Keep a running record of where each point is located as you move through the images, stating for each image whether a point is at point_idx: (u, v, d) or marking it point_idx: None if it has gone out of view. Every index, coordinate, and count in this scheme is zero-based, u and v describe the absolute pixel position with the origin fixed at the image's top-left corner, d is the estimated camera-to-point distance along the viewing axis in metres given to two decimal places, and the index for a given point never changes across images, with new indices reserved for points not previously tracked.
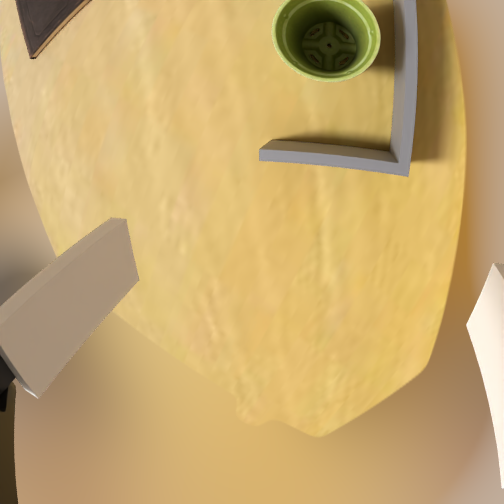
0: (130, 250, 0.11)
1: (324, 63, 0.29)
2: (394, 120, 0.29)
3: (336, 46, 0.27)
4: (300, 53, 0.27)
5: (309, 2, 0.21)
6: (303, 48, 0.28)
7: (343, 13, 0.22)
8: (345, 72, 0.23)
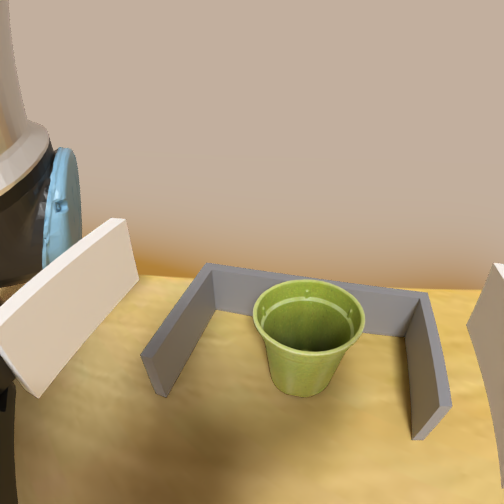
0: (130, 250, 0.11)
1: None
2: (377, 325, 0.33)
3: None
4: (313, 385, 0.26)
5: None
6: (300, 394, 0.27)
7: (274, 329, 0.29)
8: (348, 320, 0.27)
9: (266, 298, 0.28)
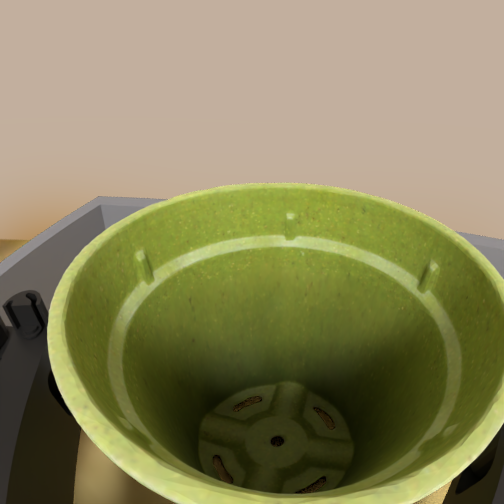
0: None
1: (331, 461, 0.09)
2: None
3: (281, 424, 0.11)
4: None
5: (121, 343, 0.06)
6: None
7: (197, 330, 0.10)
8: (425, 298, 0.07)
9: (154, 226, 0.08)
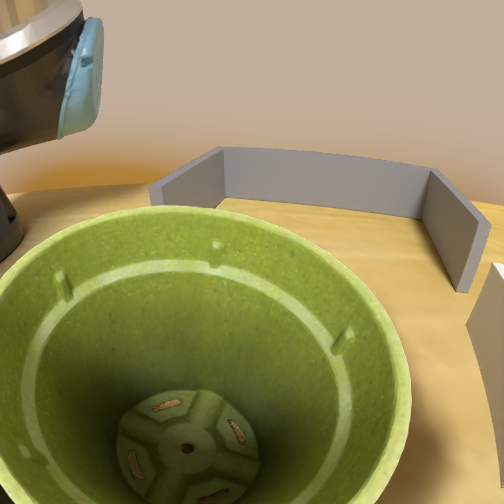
0: None
1: (235, 476, 0.10)
2: (392, 203, 0.32)
3: (194, 432, 0.11)
4: None
5: (36, 362, 0.06)
6: None
7: (118, 340, 0.10)
8: (335, 361, 0.08)
9: (75, 247, 0.08)
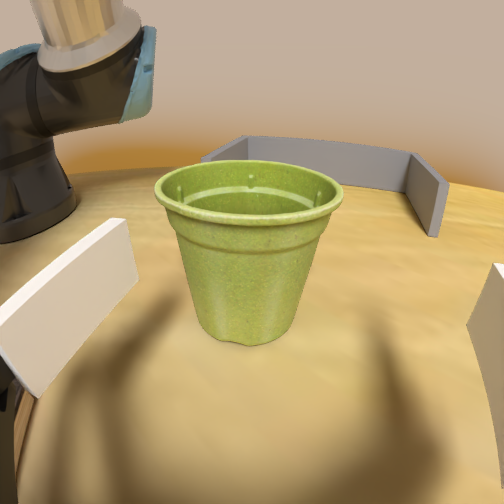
0: (130, 250, 0.11)
1: None
2: (381, 179, 0.41)
3: None
4: (261, 317, 0.16)
5: None
6: (242, 340, 0.17)
7: None
8: None
9: (185, 176, 0.17)
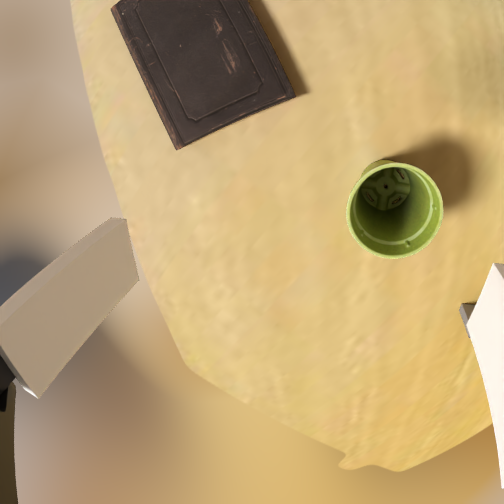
0: (130, 250, 0.11)
1: (379, 203, 0.34)
2: None
3: (392, 187, 0.32)
4: (360, 200, 0.32)
5: None
6: (361, 186, 0.33)
7: (408, 169, 0.27)
8: (403, 241, 0.29)
9: (417, 172, 0.24)
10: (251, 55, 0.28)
